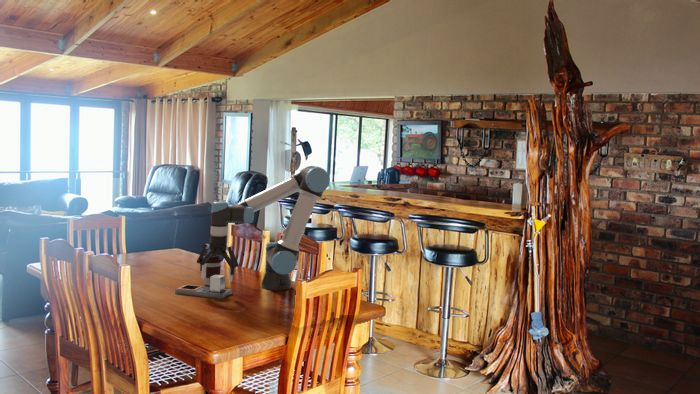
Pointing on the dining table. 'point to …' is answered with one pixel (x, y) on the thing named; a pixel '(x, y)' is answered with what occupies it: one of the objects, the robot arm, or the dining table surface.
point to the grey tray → (201, 291)
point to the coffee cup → (212, 267)
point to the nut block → (217, 283)
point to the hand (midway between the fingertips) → (216, 280)
